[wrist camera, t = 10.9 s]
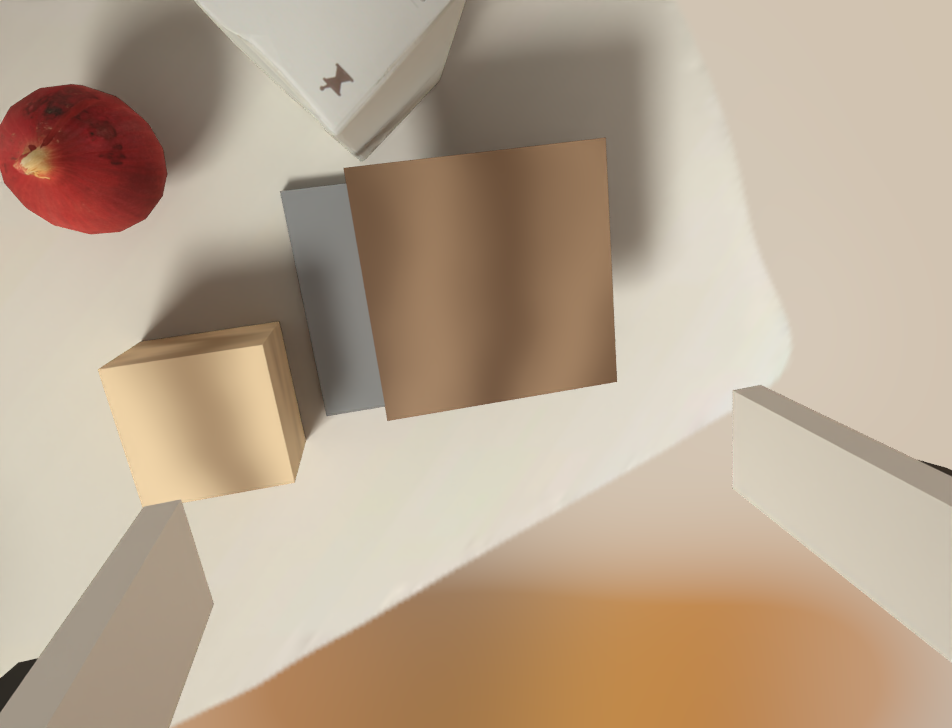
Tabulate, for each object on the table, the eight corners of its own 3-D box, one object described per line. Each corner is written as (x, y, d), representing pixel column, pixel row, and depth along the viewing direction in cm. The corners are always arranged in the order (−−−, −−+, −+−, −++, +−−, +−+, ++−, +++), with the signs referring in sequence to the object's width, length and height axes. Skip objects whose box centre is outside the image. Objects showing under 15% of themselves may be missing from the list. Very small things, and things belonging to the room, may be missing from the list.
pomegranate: (63, 81, 27) (-59, 38, 19) (197, 123, 28) (132, 98, 21) (48, 208, 28) (-72, 215, 20) (176, 242, 29) (108, 260, 22)
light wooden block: (176, 463, 33) (143, 509, 28) (140, 341, 30) (97, 369, 26) (305, 441, 33) (294, 482, 29) (279, 321, 31) (262, 344, 27)
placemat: (327, 412, 33) (326, 416, 33) (281, 191, 30) (280, 191, 29) (599, 367, 35) (602, 369, 35) (587, 154, 32) (591, 153, 31)
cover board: (386, 409, 28) (387, 421, 27) (345, 169, 25) (343, 168, 24) (605, 372, 30) (617, 381, 28) (593, 140, 26) (605, 137, 25)
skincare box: (440, 80, 29) (502, -22, 15) (357, 169, 30) (343, 150, 16) (309, -69, 27) (237, -356, 13) (220, 32, 27) (57, -137, 13)
